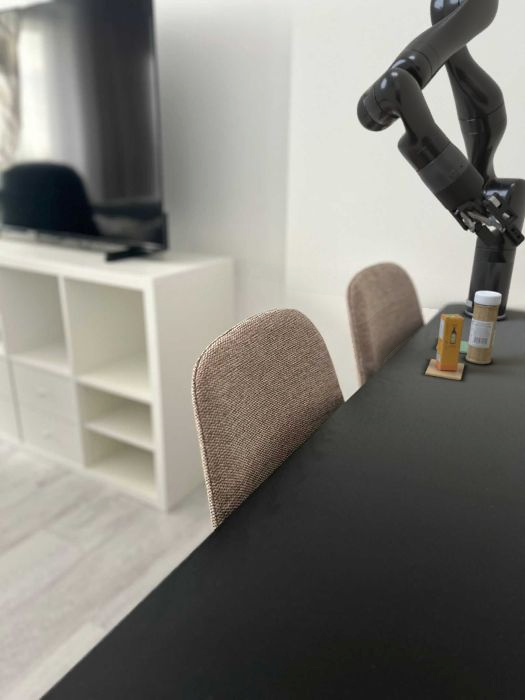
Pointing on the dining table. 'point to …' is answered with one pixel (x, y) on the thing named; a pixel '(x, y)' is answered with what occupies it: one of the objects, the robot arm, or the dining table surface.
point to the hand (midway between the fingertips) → (505, 243)
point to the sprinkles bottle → (483, 326)
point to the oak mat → (444, 371)
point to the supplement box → (449, 342)
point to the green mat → (462, 347)
